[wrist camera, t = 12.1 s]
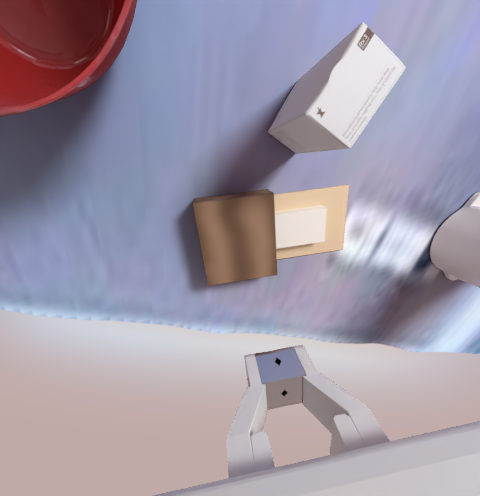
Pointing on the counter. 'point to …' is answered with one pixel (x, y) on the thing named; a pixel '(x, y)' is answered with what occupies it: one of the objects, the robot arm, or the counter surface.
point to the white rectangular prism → (300, 226)
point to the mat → (335, 217)
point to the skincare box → (338, 95)
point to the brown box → (237, 235)
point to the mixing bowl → (57, 48)
